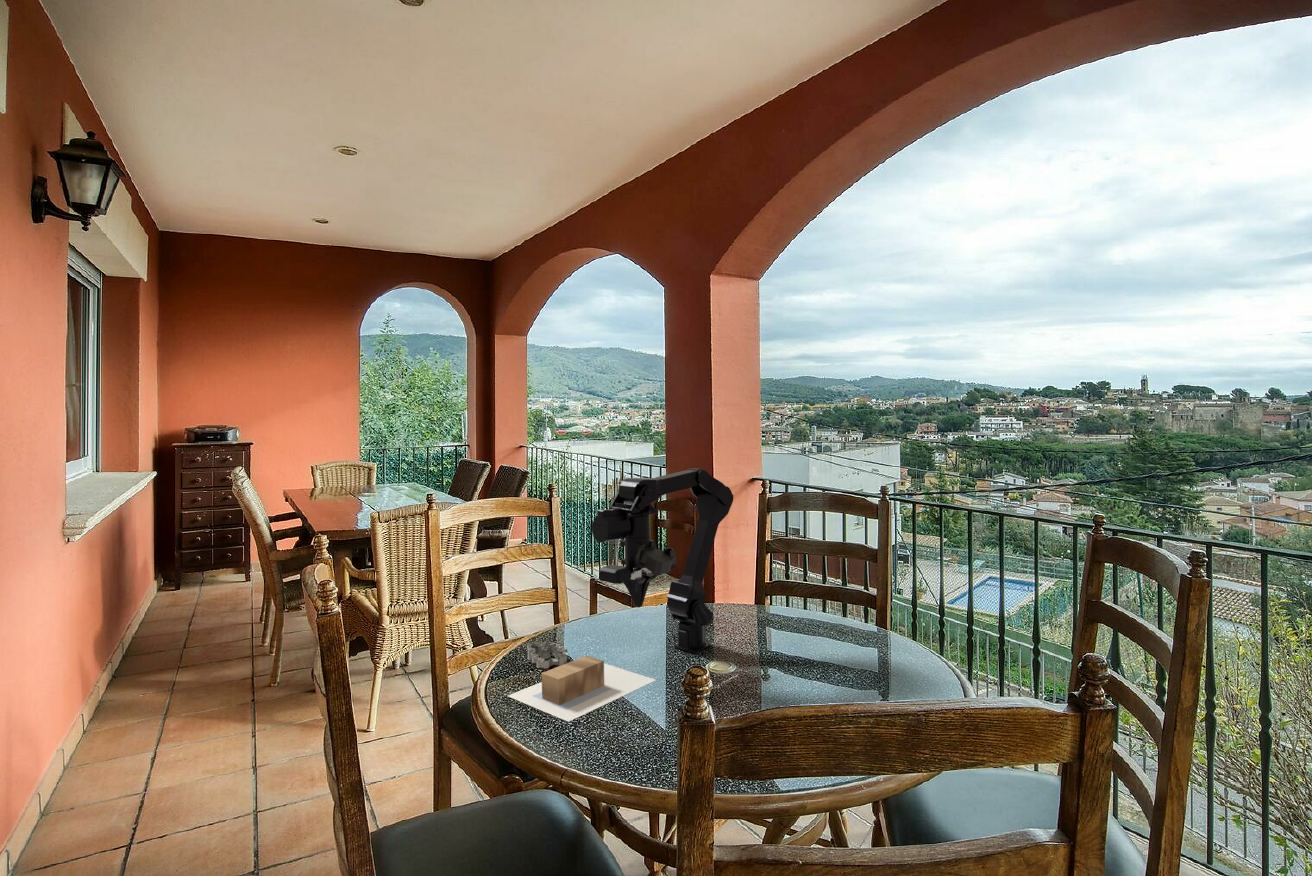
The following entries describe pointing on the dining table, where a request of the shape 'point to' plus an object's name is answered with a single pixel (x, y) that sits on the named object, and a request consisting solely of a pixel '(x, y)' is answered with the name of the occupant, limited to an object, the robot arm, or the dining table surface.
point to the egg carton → (546, 654)
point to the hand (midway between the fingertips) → (639, 606)
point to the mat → (614, 688)
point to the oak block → (572, 680)
